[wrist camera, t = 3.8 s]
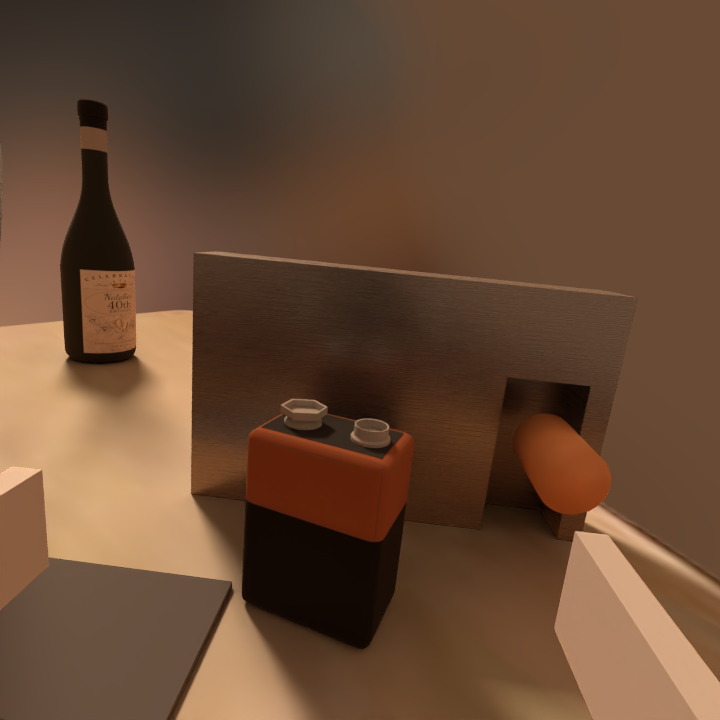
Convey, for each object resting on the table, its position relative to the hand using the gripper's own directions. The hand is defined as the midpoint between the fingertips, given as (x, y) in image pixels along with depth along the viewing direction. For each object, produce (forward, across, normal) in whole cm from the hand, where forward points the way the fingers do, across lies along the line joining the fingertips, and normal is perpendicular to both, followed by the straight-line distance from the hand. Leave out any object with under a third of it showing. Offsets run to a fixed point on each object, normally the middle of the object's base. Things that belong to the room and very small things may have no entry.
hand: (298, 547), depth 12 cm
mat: (+6, -10, -10) cm, 16 cm away
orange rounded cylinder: (+15, +12, -5) cm, 19 cm away
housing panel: (+20, +3, -10) cm, 23 cm away
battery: (+10, 0, -10) cm, 15 cm away
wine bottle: (+47, -34, -10) cm, 59 cm away
